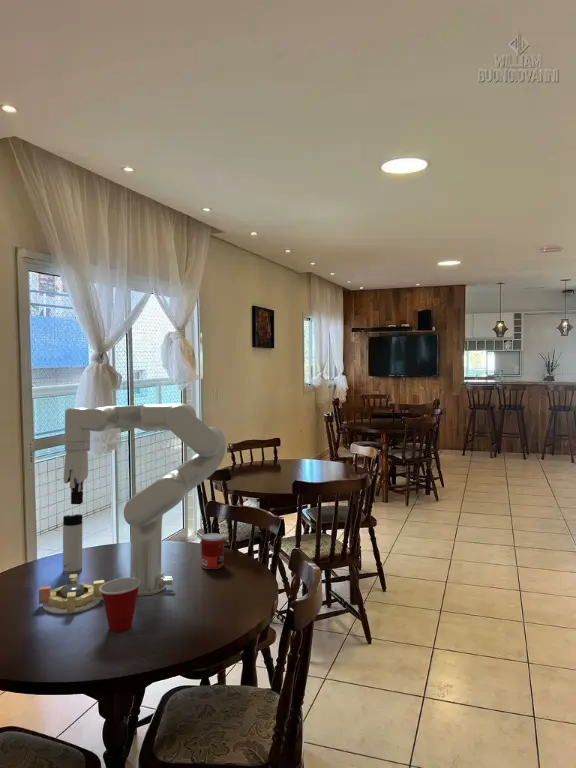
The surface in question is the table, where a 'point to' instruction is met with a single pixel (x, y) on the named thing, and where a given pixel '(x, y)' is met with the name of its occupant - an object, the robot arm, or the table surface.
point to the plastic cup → (120, 602)
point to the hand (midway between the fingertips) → (76, 503)
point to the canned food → (212, 550)
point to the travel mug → (72, 544)
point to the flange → (64, 590)
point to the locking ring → (70, 595)
